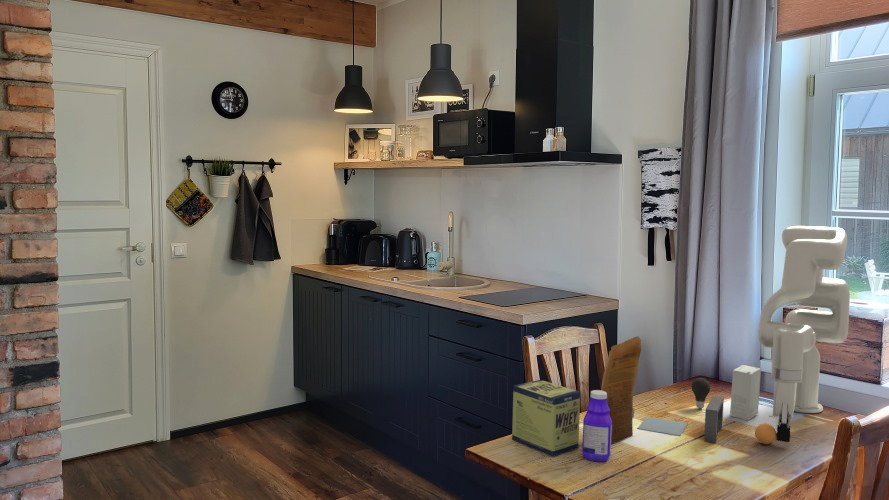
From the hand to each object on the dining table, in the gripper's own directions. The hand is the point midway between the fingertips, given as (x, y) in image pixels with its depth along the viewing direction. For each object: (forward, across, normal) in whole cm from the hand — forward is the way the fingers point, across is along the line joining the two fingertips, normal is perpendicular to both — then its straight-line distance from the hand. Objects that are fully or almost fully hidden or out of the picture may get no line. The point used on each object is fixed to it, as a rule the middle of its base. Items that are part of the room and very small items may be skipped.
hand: (783, 440), depth 190 cm
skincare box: (+2, -24, -11) cm, 26 cm away
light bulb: (+2, -24, -24) cm, 34 cm away
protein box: (+2, +29, -58) cm, 65 cm away
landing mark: (+2, -1, -32) cm, 32 cm away
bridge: (+2, -1, -18) cm, 18 cm away
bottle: (+2, +32, -43) cm, 54 cm away
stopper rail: (+2, -2, -42) cm, 42 cm away
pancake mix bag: (+2, +16, -41) cm, 44 cm away
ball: (-1, 0, -4) cm, 4 cm away
